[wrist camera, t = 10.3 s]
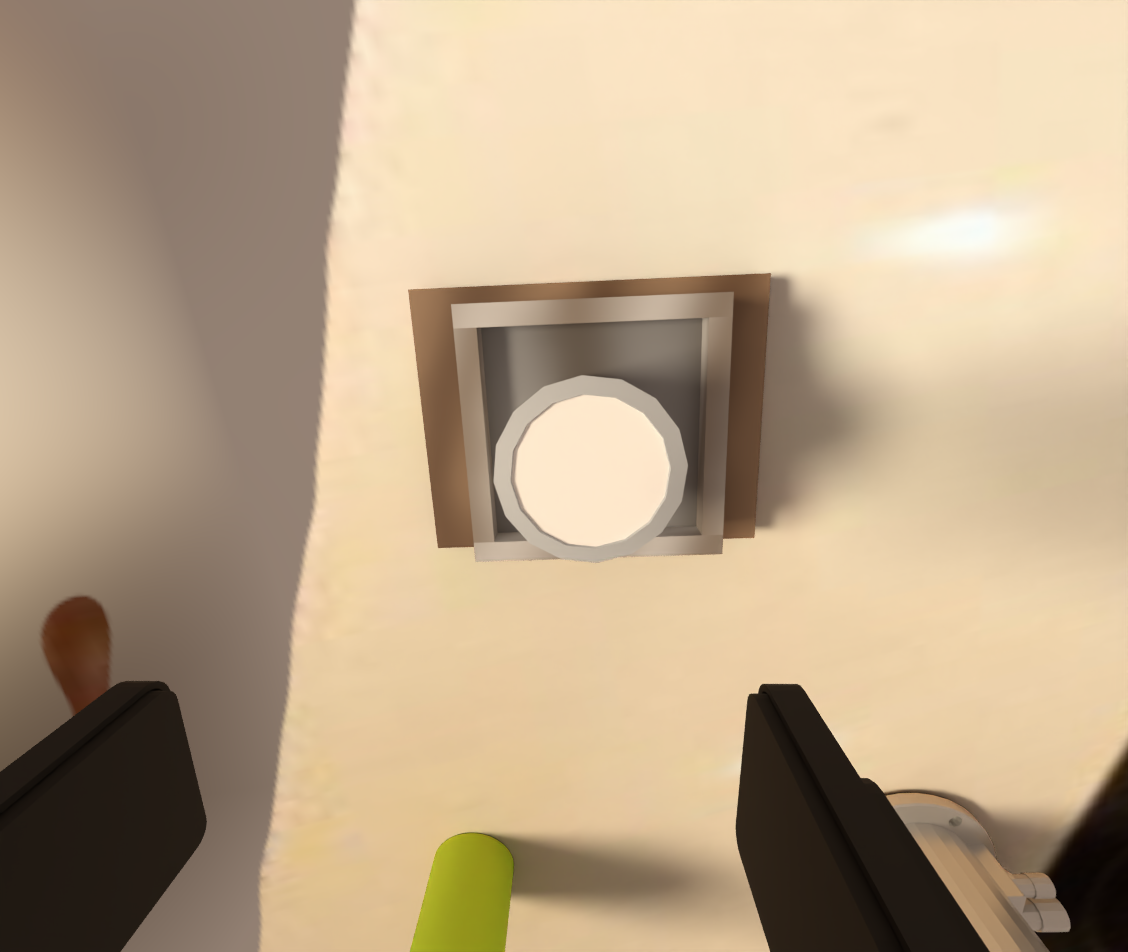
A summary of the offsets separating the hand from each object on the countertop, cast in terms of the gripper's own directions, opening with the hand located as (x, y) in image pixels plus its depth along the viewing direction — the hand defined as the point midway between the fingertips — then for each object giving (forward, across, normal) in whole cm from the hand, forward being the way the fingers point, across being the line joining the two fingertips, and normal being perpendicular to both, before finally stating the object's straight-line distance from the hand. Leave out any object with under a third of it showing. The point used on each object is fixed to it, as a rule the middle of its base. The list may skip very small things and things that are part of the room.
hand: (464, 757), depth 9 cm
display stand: (+22, -3, -2) cm, 22 cm away
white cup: (+18, -2, -2) cm, 18 cm away
